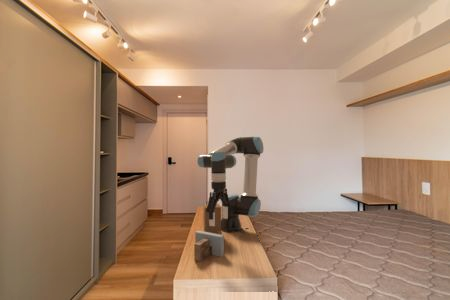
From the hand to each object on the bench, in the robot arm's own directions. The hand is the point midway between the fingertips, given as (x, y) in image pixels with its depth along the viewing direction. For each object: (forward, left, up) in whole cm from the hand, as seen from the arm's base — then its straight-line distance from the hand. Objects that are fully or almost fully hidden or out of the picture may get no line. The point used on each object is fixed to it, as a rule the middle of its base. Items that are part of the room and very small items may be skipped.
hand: (219, 222), depth 119 cm
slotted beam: (0, -6, -17) cm, 18 cm away
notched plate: (0, -6, -17) cm, 18 cm away
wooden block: (-19, -16, -17) cm, 30 cm away
